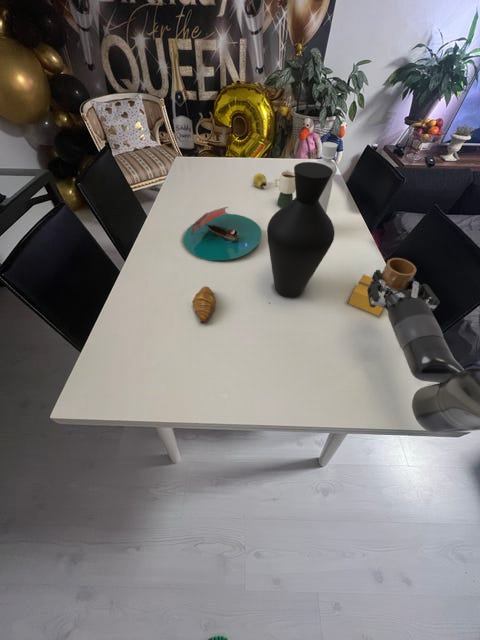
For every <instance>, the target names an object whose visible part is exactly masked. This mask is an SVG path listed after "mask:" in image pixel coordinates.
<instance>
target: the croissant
mask: <svg viewBox="0 0 480 640" xmlns="http://www.w3.org/2000/svg"><path fill="white" fill-rule="evenodd" d="M191 303H192V307H193V308H194V313H195V315H196V316H197V318H198V320H199V321H200V323H201V324H206V323H208V321H209V319H210V318H211V316H212V314H213V312H214V309H215V307H216V304H217V299H216V297H215V296H214V292H213V291H212V289H211V288H210V287H209V286H203V287H201V289H200V290H199V291H198V292H197V293H195V295H194V297H193V299H192V302H191Z"/></svg>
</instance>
